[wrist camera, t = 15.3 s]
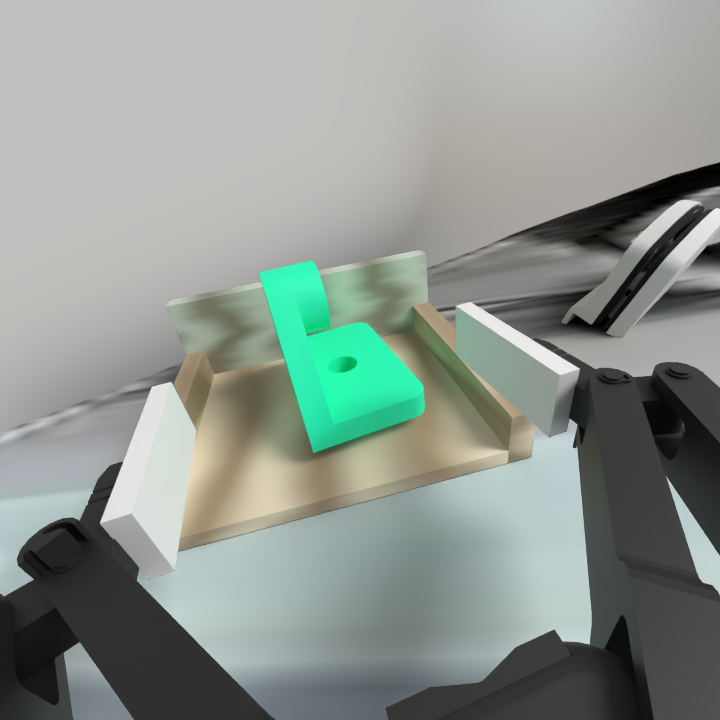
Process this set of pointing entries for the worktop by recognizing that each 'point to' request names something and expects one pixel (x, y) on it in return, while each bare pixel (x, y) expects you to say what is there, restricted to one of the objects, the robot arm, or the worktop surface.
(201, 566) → the worktop surface
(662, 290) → the grey rounded piece
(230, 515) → the dock
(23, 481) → the worktop surface
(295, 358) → the camera mount
